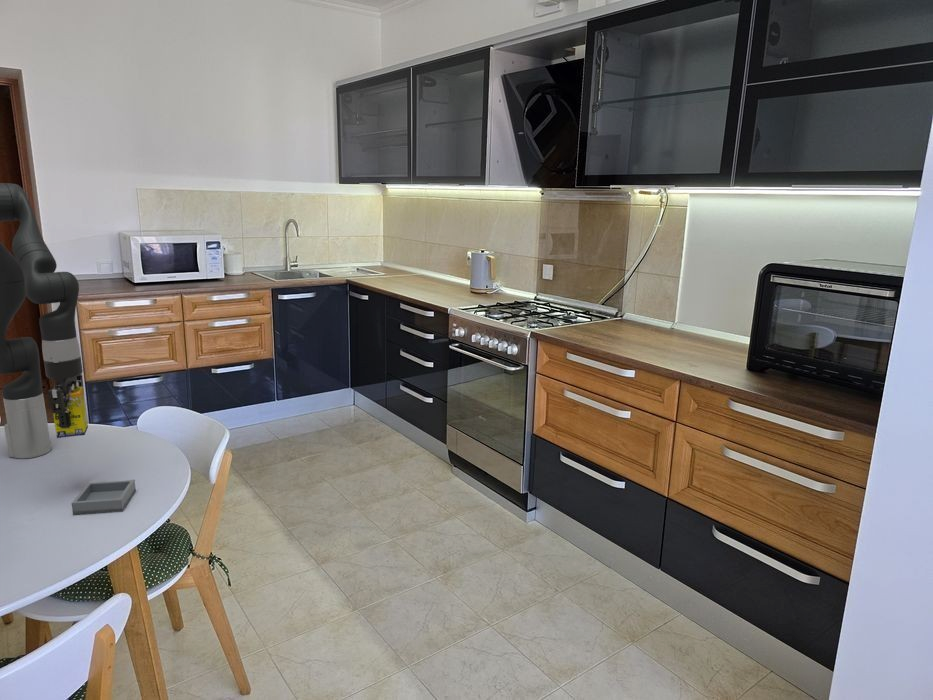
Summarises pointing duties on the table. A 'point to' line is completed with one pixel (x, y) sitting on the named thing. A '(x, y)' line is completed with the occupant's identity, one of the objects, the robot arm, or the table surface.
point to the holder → (104, 497)
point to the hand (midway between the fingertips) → (71, 422)
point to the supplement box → (74, 416)
